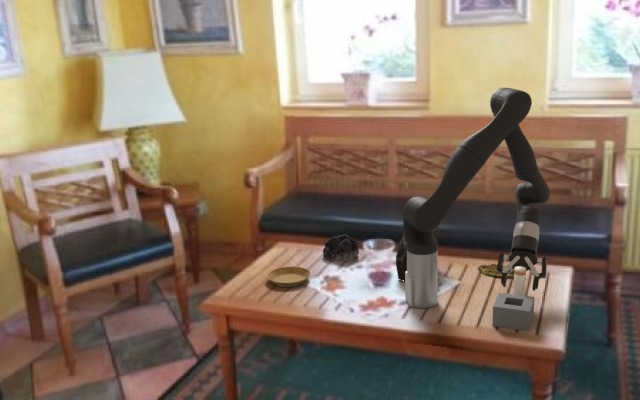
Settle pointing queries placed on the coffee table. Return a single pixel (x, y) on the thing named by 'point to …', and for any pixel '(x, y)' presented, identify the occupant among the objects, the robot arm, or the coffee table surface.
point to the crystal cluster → (340, 248)
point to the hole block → (513, 311)
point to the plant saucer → (289, 276)
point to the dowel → (519, 280)
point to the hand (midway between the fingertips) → (518, 288)
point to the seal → (493, 271)
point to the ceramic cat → (404, 257)
